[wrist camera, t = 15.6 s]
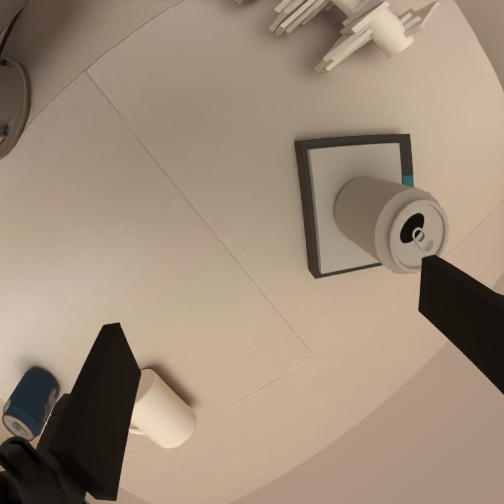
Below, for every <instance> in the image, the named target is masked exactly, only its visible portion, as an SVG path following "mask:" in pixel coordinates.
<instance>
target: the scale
mask: <svg viewBox="0 0 504 504" xmlns="http://www.w3.org/2000/svg"><path fill="white" fill-rule="evenodd" d="M295 149H296V157H297V165H298V173H299V181H300V189H301V198H302V207H303V216H304V226H305V236H306V247H307V257H308V269H309V271H310V272H311V274H312V275H313V276H314V278H315V279H316V278H321V277H326V276H331V275H336V274H341V273H346V272H351V271H356V270H361V269H366V268H371V267H375V266H380V265H382V264H381V263H380V262H378V261H377V260H376V259H375V258H373V257H372V256H371V255H369V254H368V253H367V252H365V251H364V250H363V249H361V248H360V247H359V246H357V245H356V244H355V243H353V242H352V241H351V240H349V239H348V238H347V237H345V236H344V235H343V233H342V232H341V231H340V229H339V228H338V225H337V222H336V219H335V206H336V202H337V199H338V196H339V194H340V193H341V191H342V190H343V188H344V187H345V186H346V185H347V184H348V183H350V182H351V181H352V180H355V179H357V178H360V177H375V178H379V179H383V180H387V181H391V182H395V183H399V184H403V185H407V186H411V187H414V183H413V165H412V152H411V141H410V134H389V135H366V136H349V137H335V138H323V139H312V140H302V141H295Z"/></svg>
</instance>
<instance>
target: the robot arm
mask: <svg viewBox="0 0 504 504" xmlns="http://www.w3.org/2000/svg"><path fill="white" fill-rule="evenodd" d="M29 2H30V0H0V35H1V33H2V32H3V31H4V29H5V28H6V27H7V26H8V24H9V23H10V22H11V23H10V25H9V27H8V29H7V31H6V33H5V35H4V38H3V40H2V42H1V45H0V159H2V158H3V157H4V156H5V155H6V154H7V153H8V152H9V151H10V150H11V149H12V148H13V146H14V145H15V143H16V142H17V140H18V138H19V137H20V135H21V133H22V130H23V128H24V125H25V123H26V119H27V116H28V112H29V106H30V83H29V79H28V75H27V73H26V71H25V69H24V68H23V66H22V65H21V64H20V63H19V62H17V61H16V60H14V59H11V58H8V57H4V56H1V54H2V51H3V49H4V46H5V44H6V41H7V39H8V37H9V34H10V32H11V30H12V28H13V26H14V24H15V22H16V20H17V18H18V16H19V14H20V12H21V10H22V8H23V6H24V5H25V4H26V3H29ZM418 311H419V312H420V313H421V314H422V315H424V316H425V317H426V318H427V319H428V320H429V321H430V322H431V323H432V324H433V325H434V326H435V327H436V328H437V329H438V330H440V331H441V332H442V333H443V334H444V335H445V336H446V337H447V338H448V339H449V340H450V341H451V342H452V343H453V344H454V345H455V346H456V347H457V348H458V349H459V350H460V351H461V352H462V353H463V354H464V355H465V356H466V357H468V359H469V360H470V361H472V362H473V363H474V365H475V366H477V368H478V369H479V370H480V371H481V372H482V373H484V375H485V376H486V377H487V378H488V379H489V380H490V381H491V382H492V383H493V384H494V385H495V386H496V387H497V388H498V389H499V390H500V391H501V392H502V393H503V394H504V296H503V295H501V294H498V293H495V292H494V291H492V290H491V289H489V288H488V287H486V286H485V285H483V284H482V283H480V282H479V281H477V280H476V279H474V278H472V277H471V276H469V275H468V274H466V273H465V272H463V271H461V270H460V269H458V268H457V267H455V266H453V265H452V264H450V263H448V262H447V261H445V260H443V259H442V258H440V257H438V256H437V255H435V254H434V255H430V256H426V257H423V258H422V264H421V283H420V297H419V308H418ZM141 374H142V373H141V371H140V369H139V367H138V365H137V362H136V360H135V358H134V356H133V354H132V351H131V349H130V347H129V344H128V342H127V340H126V337H125V335H124V333H123V330H122V328H121V325H120V323H113V324H106V325H103V327H102V329H101V330H100V332H99V334H98V336H97V338H96V340H95V342H94V344H93V346H92V348H91V351H90V353H89V355H88V357H87V359H86V361H85V363H84V365H83V367H82V369H81V371H80V374H79V376H78V378H77V380H76V382H75V385H74V387H73V389H72V391H71V394H64V395H63V396H62V397H61V398H60V399H59V400H58V401H57V402H56V404H55V406H54V408H53V410H52V412H51V416H50V417H49V419H48V421H47V424H46V426H45V428H44V431H43V433H42V436H41V438H40V440H39V443H38V445H37V448H36V450H35V449H34V448H33V447H32V445H31V444H30V443H29V442H28V441H27V439H25V438H23V437H21V436H14V437H11V438H9V439H7V440H6V441H4V442H3V443H2V444H1V446H0V465H1V466H2V467H3V468H4V469H5V470H6V471H1V472H0V504H89V503H88V502H87V501H86V500H85V495H86V491H87V492H88V493H89V494H91V495H92V496H93V497H94V498H95V499H98V500H109V501H116V499H117V493H118V487H119V481H120V475H121V469H122V463H123V458H124V453H125V447H126V442H127V437H128V432H129V427H130V422H131V418H132V413H133V409H134V404H135V400H136V395H137V391H138V387H139V382H140V378H141Z"/></svg>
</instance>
